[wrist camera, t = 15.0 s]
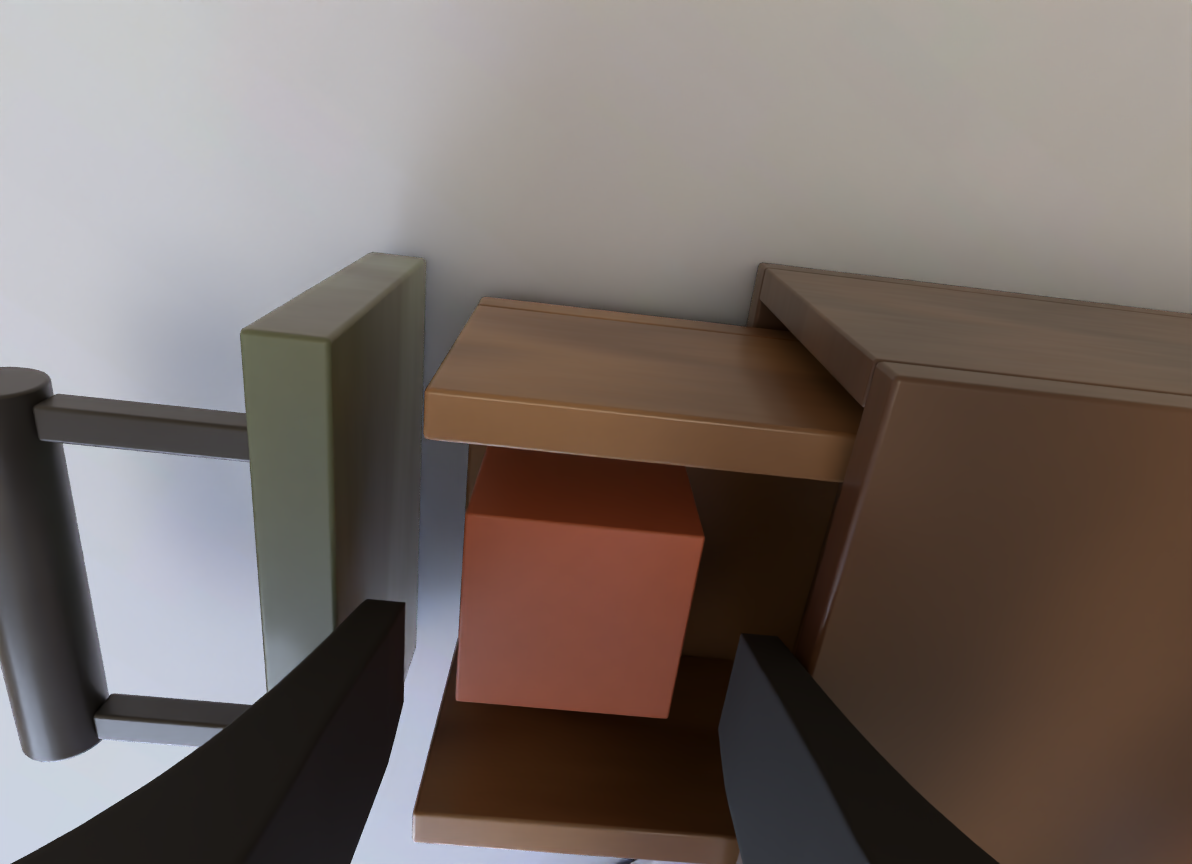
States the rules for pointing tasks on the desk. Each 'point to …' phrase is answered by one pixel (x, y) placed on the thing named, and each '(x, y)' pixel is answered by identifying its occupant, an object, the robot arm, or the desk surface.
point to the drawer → (391, 543)
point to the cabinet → (1010, 557)
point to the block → (576, 582)
